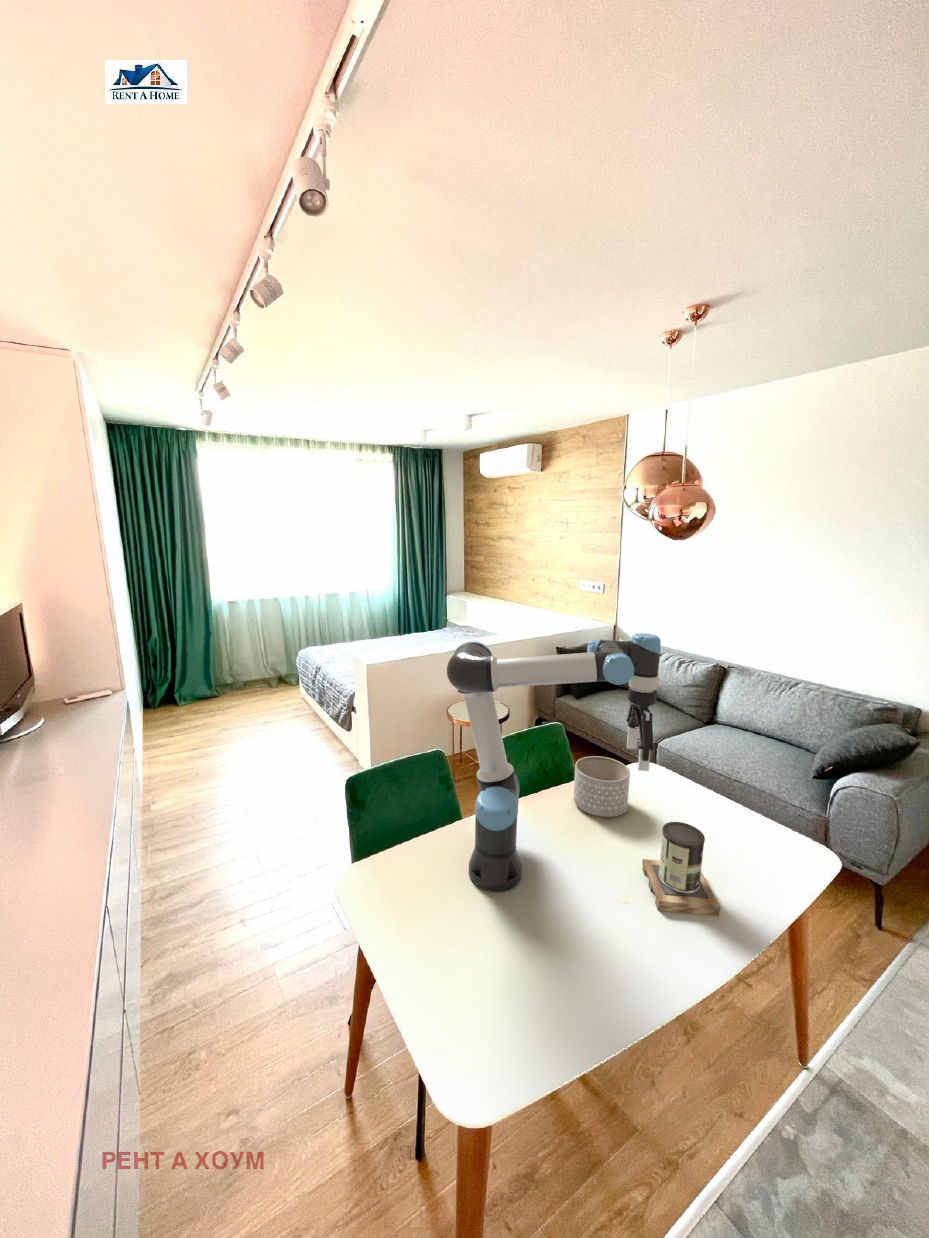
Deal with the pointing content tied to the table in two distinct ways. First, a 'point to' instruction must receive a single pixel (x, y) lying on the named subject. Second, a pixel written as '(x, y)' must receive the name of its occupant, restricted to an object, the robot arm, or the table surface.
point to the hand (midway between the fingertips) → (637, 758)
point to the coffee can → (681, 857)
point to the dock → (680, 894)
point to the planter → (601, 786)
